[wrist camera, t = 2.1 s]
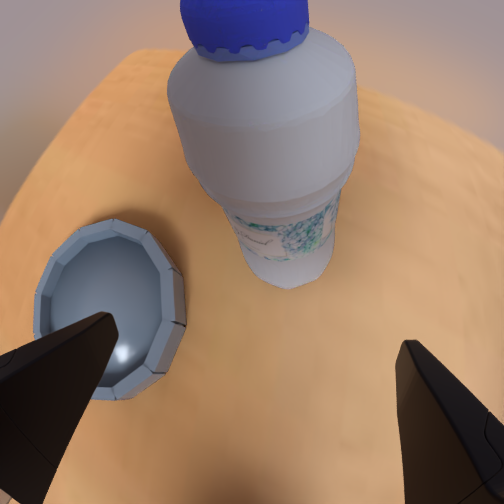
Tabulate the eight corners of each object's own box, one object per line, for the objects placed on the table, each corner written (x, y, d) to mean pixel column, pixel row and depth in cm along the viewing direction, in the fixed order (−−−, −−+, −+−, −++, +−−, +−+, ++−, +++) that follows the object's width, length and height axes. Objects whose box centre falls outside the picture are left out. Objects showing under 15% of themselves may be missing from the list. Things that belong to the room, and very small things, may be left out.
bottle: (228, 252, 24) (82, 12, 6) (291, 199, 25) (253, -60, 7) (286, 316, 22) (190, 57, 3) (351, 255, 23) (425, -24, 4)
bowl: (222, 331, 22) (214, 328, 20) (90, 426, 21) (74, 429, 19) (134, 201, 28) (123, 189, 26) (33, 294, 26) (19, 288, 24)
